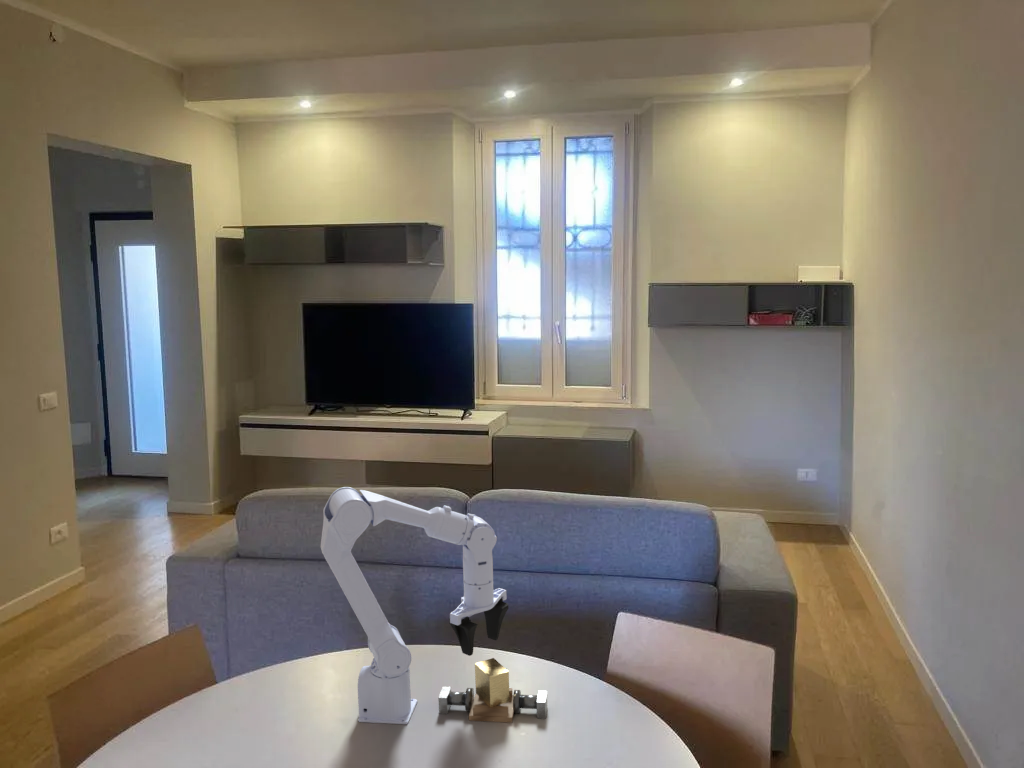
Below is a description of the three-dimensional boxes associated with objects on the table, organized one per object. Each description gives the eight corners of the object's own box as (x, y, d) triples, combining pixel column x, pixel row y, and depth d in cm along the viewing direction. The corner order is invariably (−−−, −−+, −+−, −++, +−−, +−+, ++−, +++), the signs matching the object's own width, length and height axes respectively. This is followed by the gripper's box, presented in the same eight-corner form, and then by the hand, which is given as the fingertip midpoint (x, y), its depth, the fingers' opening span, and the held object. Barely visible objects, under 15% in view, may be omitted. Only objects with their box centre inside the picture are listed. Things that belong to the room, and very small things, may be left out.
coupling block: (509, 701, 149) (508, 671, 148) (490, 707, 147) (489, 677, 146) (494, 687, 154) (493, 657, 153) (475, 692, 152) (474, 663, 151)
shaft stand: (437, 719, 148) (436, 698, 148) (445, 697, 156) (444, 677, 155) (544, 724, 146) (544, 703, 145) (548, 701, 153) (547, 682, 153)
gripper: (486, 563, 162) (488, 626, 164) (437, 587, 151) (439, 654, 153) (514, 571, 158) (515, 636, 160) (465, 596, 147) (467, 665, 149)
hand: (480, 646), depth 156 cm, fingers open, 7 cm apart
